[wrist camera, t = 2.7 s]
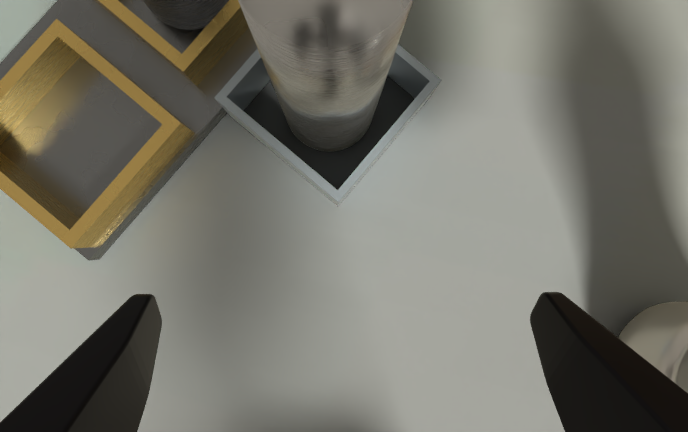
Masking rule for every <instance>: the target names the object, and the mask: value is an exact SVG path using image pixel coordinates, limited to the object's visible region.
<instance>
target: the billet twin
mask: <svg viewBox="0 0 688 432" xmlns="http://www.w3.org/2000/svg"><path fill="white" fill-rule="evenodd" d="M142 1H143V2H144V3H145V4H146V5H147V7H148V8H149V9H150V10H151V12H152V13H153V14H154V15H155V16H156V17H157V18H158V19H159V20H161V21H162V22H163V23H165V24H167V25H169V26H171V27H174V28H178V29H184V30H194V29H200V28H204V27H206V26H207V25H208V24H209V23H210V22H211V21H212V19H213V18H214V17H215V16H216V15H217V14H218V13H219V12H220V10H221V9H222V8H223V7H224V6H225V5H226V4H227V3H228V1H229V0H142Z"/></svg>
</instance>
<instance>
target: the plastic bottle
mask: <svg viewBox="0 0 688 432" xmlns="http://www.w3.org/2000/svg"><path fill="white" fill-rule="evenodd" d="M618 338H619V339H620V340H621V341H623V342H624V343H625V344H626V345H628V346H629V347H630V348H632V349H633V350H634V351H635V352H637V353H638V354H639V355H640V356H642V357H643V358H644V359H645V360H647V361H648V362H649V363H650V364H652V365H653V366H654V367H656V368H657V369H658V370H659V371H661V372H662V373H663V374H664V375H666V376H667V377H668V378H669V379H671V380H672V381H673V382H674V383H676V384H677V385H678V386H679V387H681V388H682V389H683V390H685V391H686V392H687V393H688V302H667V303H660V304H657V305H654V306H651V307H649V308H647V309H645V310H644V311H642V312H641V313H639V314H638V315H637V316H636V317H634V318H633V319H632V320H631V321H630V322H629V323H628V324H627V325H626V326H625V328H624V329H623V330H622V332H621V333H620V335H619V337H618Z"/></svg>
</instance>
